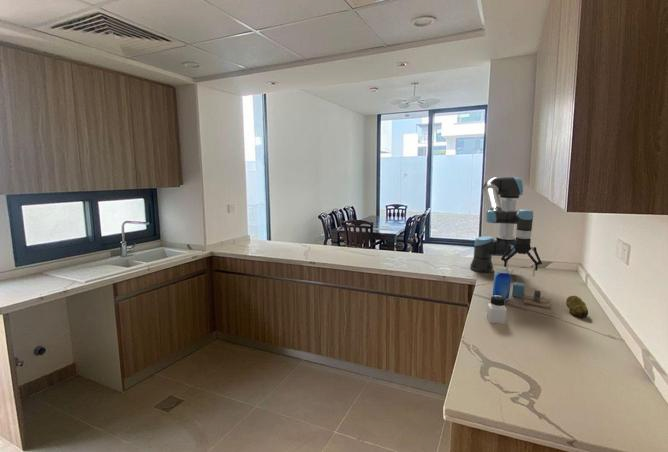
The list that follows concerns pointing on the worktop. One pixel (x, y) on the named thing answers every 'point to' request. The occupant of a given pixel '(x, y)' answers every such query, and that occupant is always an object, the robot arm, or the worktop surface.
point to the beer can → (502, 283)
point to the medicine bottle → (497, 310)
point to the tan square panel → (536, 300)
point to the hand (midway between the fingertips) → (519, 274)
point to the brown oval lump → (577, 306)
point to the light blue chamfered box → (518, 289)
